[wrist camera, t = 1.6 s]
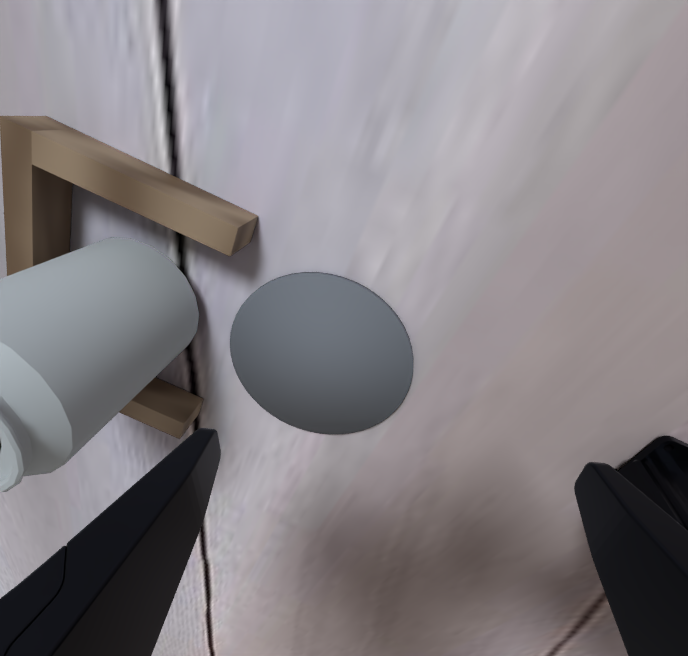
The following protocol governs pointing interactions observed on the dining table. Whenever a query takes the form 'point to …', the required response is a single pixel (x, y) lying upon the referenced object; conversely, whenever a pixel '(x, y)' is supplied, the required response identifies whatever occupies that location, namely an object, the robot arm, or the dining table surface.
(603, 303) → the dining table surface
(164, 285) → the can
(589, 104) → the dining table surface
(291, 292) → the pad
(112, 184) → the wooden frame
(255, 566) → the dining table surface
